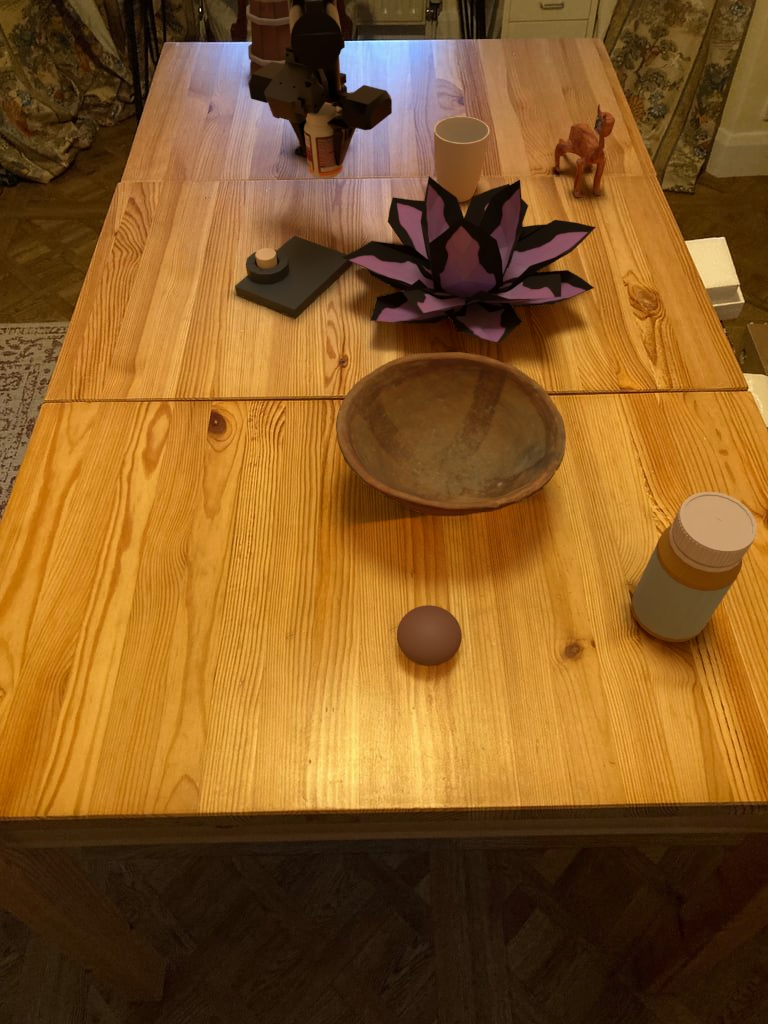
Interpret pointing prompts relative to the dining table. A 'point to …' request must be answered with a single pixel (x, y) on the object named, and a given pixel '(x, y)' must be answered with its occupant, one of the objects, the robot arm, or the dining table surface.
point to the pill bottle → (321, 144)
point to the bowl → (451, 433)
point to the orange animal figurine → (587, 148)
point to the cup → (460, 154)
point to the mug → (268, 32)
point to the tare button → (266, 258)
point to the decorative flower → (470, 261)
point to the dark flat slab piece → (293, 276)
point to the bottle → (693, 566)
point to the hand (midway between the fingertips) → (323, 160)
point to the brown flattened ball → (429, 635)
